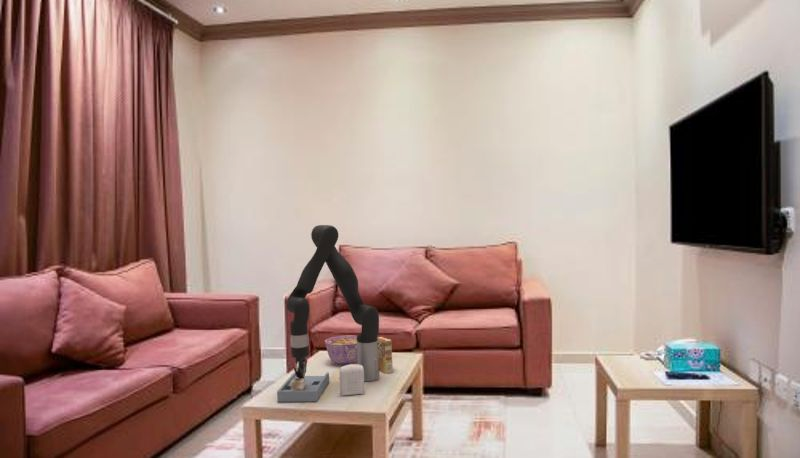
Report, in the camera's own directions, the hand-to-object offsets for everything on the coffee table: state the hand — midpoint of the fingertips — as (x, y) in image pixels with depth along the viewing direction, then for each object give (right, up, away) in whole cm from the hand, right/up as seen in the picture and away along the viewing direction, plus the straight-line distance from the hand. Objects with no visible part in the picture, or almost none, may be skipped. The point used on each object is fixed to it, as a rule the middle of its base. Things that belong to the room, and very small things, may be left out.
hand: (301, 385), depth 244 cm
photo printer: (+21, -4, 0) cm, 22 cm away
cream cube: (0, -1, -5) cm, 5 cm away
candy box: (+34, -2, +32) cm, 46 cm away
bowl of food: (+14, -2, +48) cm, 50 cm away
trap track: (0, -4, +4) cm, 6 cm away
